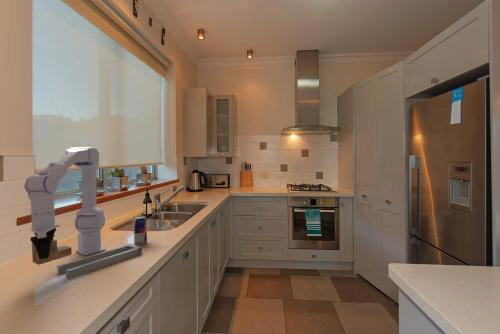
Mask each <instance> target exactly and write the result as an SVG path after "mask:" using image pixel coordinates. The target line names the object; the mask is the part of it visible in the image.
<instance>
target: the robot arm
mask: <svg viewBox="0 0 500 334" xmlns="http://www.w3.org/2000/svg"><path fill="white" fill-rule="evenodd" d="M72 166H75V167H76V168H79V169H80V170H81V172H82V173H81V176H82V177H81V178H82V181H81V187H82V188H81V194H82V195H81V197H82V198H81V209H79V210H77V212H76V213H75V219H74V228H75V229H76V230H77V231H78V234H77V249H76V250H75V252H77V253H79V254H81V255H83V256H90V255H93V254H97V253H100V252H104V251H106V248H105V247H103V246H102V237H101V236H102V235H101V234H102V233H101V232H102V231H101V230H102V229H103V228H104V226H105V224H106V217H105V213H104V210H103V209H101V208H100V207H98V206H97V168H99V166H100V153H99V151H98V149H97V148H96V147H95V146H81V147H77V146H76V147H73V146H69V147H68V148H67V149H65V155H63V157H62V158H61V159H60V160H59V161H58V162H55V161H54V162H53V161H52V162H50V163H48V165H47V167H45V168H44V169H41V170H40V172H39V173H37V174H35V175H31V176H29V177H27V179H26V180H25V183H24V185H23V186H24V187H23V188H24V190H25V192H26V193H27V198H28V199H29V200H30V214H31V215H30V216H31V229H30V231H31V232H33V234H34V235H35V236H31V237H30V239H29V240H30V242H31V244H32V243H33V244H34V245H35V247H36V250H37V253H38V256H39V259H45V258H48V257H49V253H50V246H51V242H52V240H54V237H55V233H56V231H57V228H60V225H61V224H60V223H57V224H56V217H55V215H56V213H55V196H54V195H55V193H54V192H56V191H57V190H58V186H59V184H60V181H61V180H62V179H63V178H65V176H66V175H67V174H68V172H69V171H68V169H70V168H71V167H72Z"/></svg>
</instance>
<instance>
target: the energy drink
mask: <svg viewBox="0 0 500 334" xmlns="http://www.w3.org/2000/svg"><path fill="white" fill-rule="evenodd" d="M132 223H133V242H134V243H133V245H136V246H143V245H145V244H147V243H148V232H147V229H148V228H147V218H146V216H145V215H140V216H135V217H134V218H133V222H132Z"/></svg>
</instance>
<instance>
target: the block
mask: <svg viewBox="0 0 500 334" xmlns="http://www.w3.org/2000/svg"><path fill="white" fill-rule="evenodd" d="M31 252H32V255H31V256H32V263H35V264H36V265H38V266H39V265H43V264H46V263H49V262H53V261H56V260H59V259H63V258H66V257H69V256H72V247H71V246H68V245H62V246H58V241H57V240H56V239H53V240H52V242H51V246H50V253H49V257H48V258H45V259H39V256H38V253H37V250H36V247H35V245H34V244H33V243H32V242H31Z"/></svg>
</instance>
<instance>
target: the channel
mask: <svg viewBox="0 0 500 334" xmlns="http://www.w3.org/2000/svg"><path fill="white" fill-rule="evenodd" d="M142 254H143V247H142V246H140V245H135V244H133V243H127V244H124V245H122V246H117V247H115V248H111V249H108V250H103V251H100V252H96V253H93V254H90V255H86V256H84V257H80V258H78V259H75V260H71V261H68V262H65V263H61V264H57V265H56V266H57V273H58V274H63V273H65V279H67V280H69V279H73V278H75V277H78V276H81V275H84V274H87V273H89V272H92V271H95V270H98V269H101V268H103V267H107V266H110V265H113V264H116V263H118V262H122V261H124V260H127V259H130V258H133V257H136V256H139V255H142Z"/></svg>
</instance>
